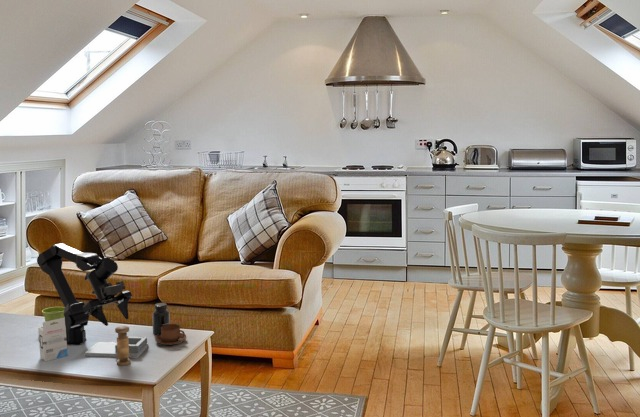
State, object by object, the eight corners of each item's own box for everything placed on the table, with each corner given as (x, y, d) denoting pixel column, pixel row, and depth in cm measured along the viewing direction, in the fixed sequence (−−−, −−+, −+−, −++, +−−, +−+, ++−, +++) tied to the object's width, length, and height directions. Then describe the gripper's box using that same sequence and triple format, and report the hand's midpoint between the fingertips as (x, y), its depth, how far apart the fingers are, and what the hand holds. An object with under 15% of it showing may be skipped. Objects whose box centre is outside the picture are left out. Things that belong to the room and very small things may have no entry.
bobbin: (114, 365, 244) (113, 330, 242) (119, 360, 248) (118, 326, 246) (127, 365, 243) (126, 330, 241) (132, 361, 248) (131, 326, 246)
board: (85, 355, 253) (84, 345, 253) (98, 344, 265) (97, 334, 264) (137, 357, 251) (137, 347, 251) (148, 346, 263) (148, 336, 263)
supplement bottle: (165, 336, 275) (164, 307, 273) (150, 335, 276) (149, 306, 275) (172, 330, 282) (171, 302, 280) (157, 329, 283) (156, 301, 281)
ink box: (62, 352, 257) (60, 314, 255) (68, 355, 253) (65, 317, 251) (39, 358, 251) (37, 319, 249) (44, 361, 247) (42, 322, 245)
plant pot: (40, 329, 284) (39, 308, 283) (64, 325, 289) (63, 305, 288) (45, 335, 276) (44, 314, 275) (69, 331, 281) (68, 310, 280)
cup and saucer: (188, 336, 275) (188, 322, 274) (183, 347, 263) (183, 331, 262) (158, 337, 274) (158, 322, 273) (152, 347, 262) (151, 332, 262)
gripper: (89, 280, 243) (108, 319, 240) (131, 270, 258) (148, 306, 255) (74, 294, 249) (92, 332, 246) (116, 283, 264) (133, 319, 261)
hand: (117, 322), depth 252 cm, fingers open, 9 cm apart
